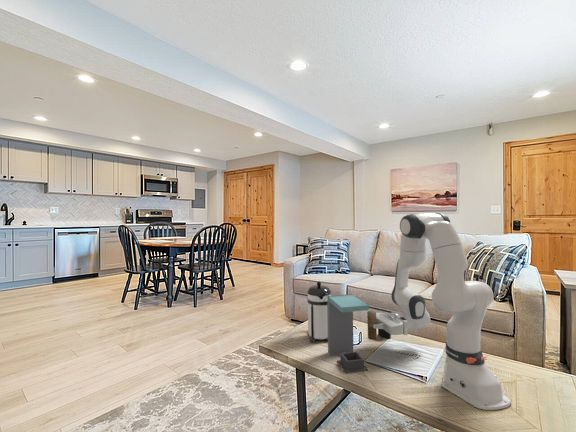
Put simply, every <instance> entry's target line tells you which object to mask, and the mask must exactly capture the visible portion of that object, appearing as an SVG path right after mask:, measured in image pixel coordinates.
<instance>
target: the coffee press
mask: <svg viewBox="0 0 576 432" xmlns="http://www.w3.org/2000/svg"><path fill="white" fill-rule="evenodd" d="M306 294H307V328H308V329H307V331H308V332H307V335H308V336H309V337H310V339H309V341H310V342H311V343H314V342H315V340H325V339H326V340H327V341H328V305H327V296H332V290H331V289H330V287H328V286H327V285H322V282H321V281H317V283H316V285H312V286H309V288H308V289H307V291H306Z"/></svg>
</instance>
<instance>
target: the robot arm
mask: <svg viewBox="0 0 576 432" xmlns="http://www.w3.org/2000/svg"><path fill="white" fill-rule="evenodd" d="M399 230H400V232H401V237H400V244H399V245H400V246H399V247H400V249H399V253H400V254H399V258H398V260H397V263H396V268H395V276H394V277H395V278H394V279H395V280H394V286H393V289H392V291H391V300H392V302H393V304H394V305H396V306H398V307H400V308H402V310H401V311H393V312H389V316H388V314H386V313H385V312H376V323H375V324H372V327H373V328H374V329H376V328H377V330H378V329H384V330H385V331H386V332H388V333H389V334H391V336H392V335H393V336H397V335H398V336H399V335H404V336H406V335H407V336H408V334H409V333H408V332H409V330H410V331H416V330H422V329H425V328H427V327H428V326H429V325H430V324H431V316H430V313H429V312H428V311H427V309H426V306H427V305H426V299H425V298H424V297H423V296H422V295H420V294H419V293H416V292H414V291H413V290H411V289H410V287H409V285H408V284H409V274H410V271H411V270H412V269H417V268H419V267H421V266H422V265H423V264H424V263H425V260H426V241H427V240H428V241H429V244H430V248H431V251H432V255H433V257H434V261H435V265H436V271H437V272H436V273H437V279H436V284H435V287H434V289H433V290H432V292H431V300H432V301H431V302H432V304H433V306H434V308H435V309H436V310H438V311H439V312H441V313H444V314H452V317H451V318H450V319H449V320H447V321H448V322H447V323H446V324H447V325H446V343H445V347H444V348H445V354H446V358H445V361H444V366H443V367H444V368H443V374H442V381H441V384H440V386H441V387H442V388H444V389H445V390H447V391H449V392H450V393H452V394H454V395H455V396H457V397H459V398H460V399H461V400H463V401H465V402H467V403H468V404H470V405H471V406H473V407H475V408H477V409H480V410H484V411H485V410H486V411H495V410H502V409H506V408H508V407H510V405H511V404H512V401H511V399H510V398H509V397H508V396H507V395H505V394H504V393H503V388H502V387H503V386H502V384H501V381H500V380H499V379H498V376H497V375H496V374H494V373H493V372H492V369H490V368H489V366H488V365H487V364H486V361H485V360H488V356H485V355H484V354H483V351H482V348H481V331H482V324H483V321H484V318H485V315H486V313H487V310H488V308H489V307H490V305H492V303H493V302H494V300H495V299H494V298H495V295H494V292H493V289H492V288H491V287H490V285H489V284H487V283H486V282H484V281H480V280H465V270H466V269H467V267H468V265H469V262H468V259H467V256H466V253H465V250H464V247H463V244H462V241H461V238H460V236H459V234H458V232H457V230H456V228H455V227H454V225H453V224H452V223H451V219H450V218H449V216H447V215H446V214H444V213H441V212H419V213H418V212H417V213H411V214H410V213H409V214H406V215H404V216H403V217H402V218H401V219H400V223H399ZM366 323H367V325H368V319H367V320H366Z"/></svg>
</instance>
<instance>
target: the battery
mask: <svg viewBox="0 0 576 432" xmlns="http://www.w3.org/2000/svg"><path fill="white" fill-rule="evenodd" d="M387 315H388V314H387ZM389 315H390V314H389ZM389 315H388V316H389ZM377 336H379V337H382V338H387V339H391V338H392V334H389V333H388V332H386V331H385V330H384V329H378V328H377Z"/></svg>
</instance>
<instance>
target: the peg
mask: <svg viewBox="0 0 576 432" xmlns="http://www.w3.org/2000/svg"><path fill="white" fill-rule="evenodd" d="M376 313H377V312H376V311H373V310H367V320H368V324H367V339H369V340H372V341H375V340H377V336H378V328H376V329H374V328H373V327H372V324H375V323H376Z"/></svg>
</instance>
